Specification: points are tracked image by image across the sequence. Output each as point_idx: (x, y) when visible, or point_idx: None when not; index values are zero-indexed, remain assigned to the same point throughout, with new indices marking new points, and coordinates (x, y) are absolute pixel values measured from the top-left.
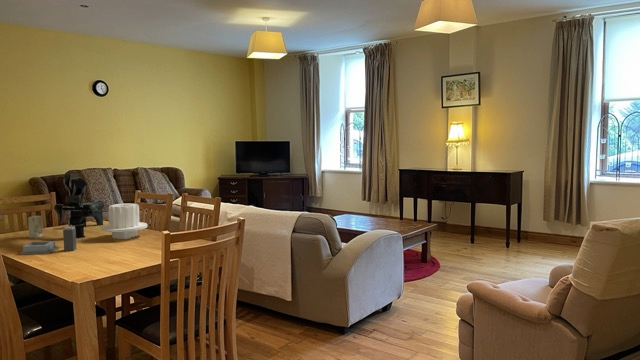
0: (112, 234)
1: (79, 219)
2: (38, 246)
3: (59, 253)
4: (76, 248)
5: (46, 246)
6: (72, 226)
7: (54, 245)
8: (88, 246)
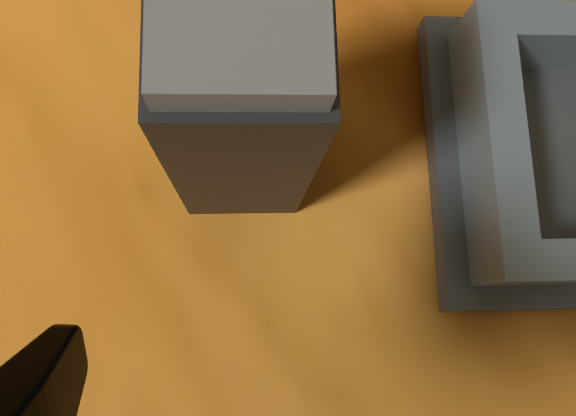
0: None
1: (29, 378)
2: (563, 4)
3: None
4: (188, 212)
5: (472, 4)
6: (194, 92)
7: (476, 262)
8: None
